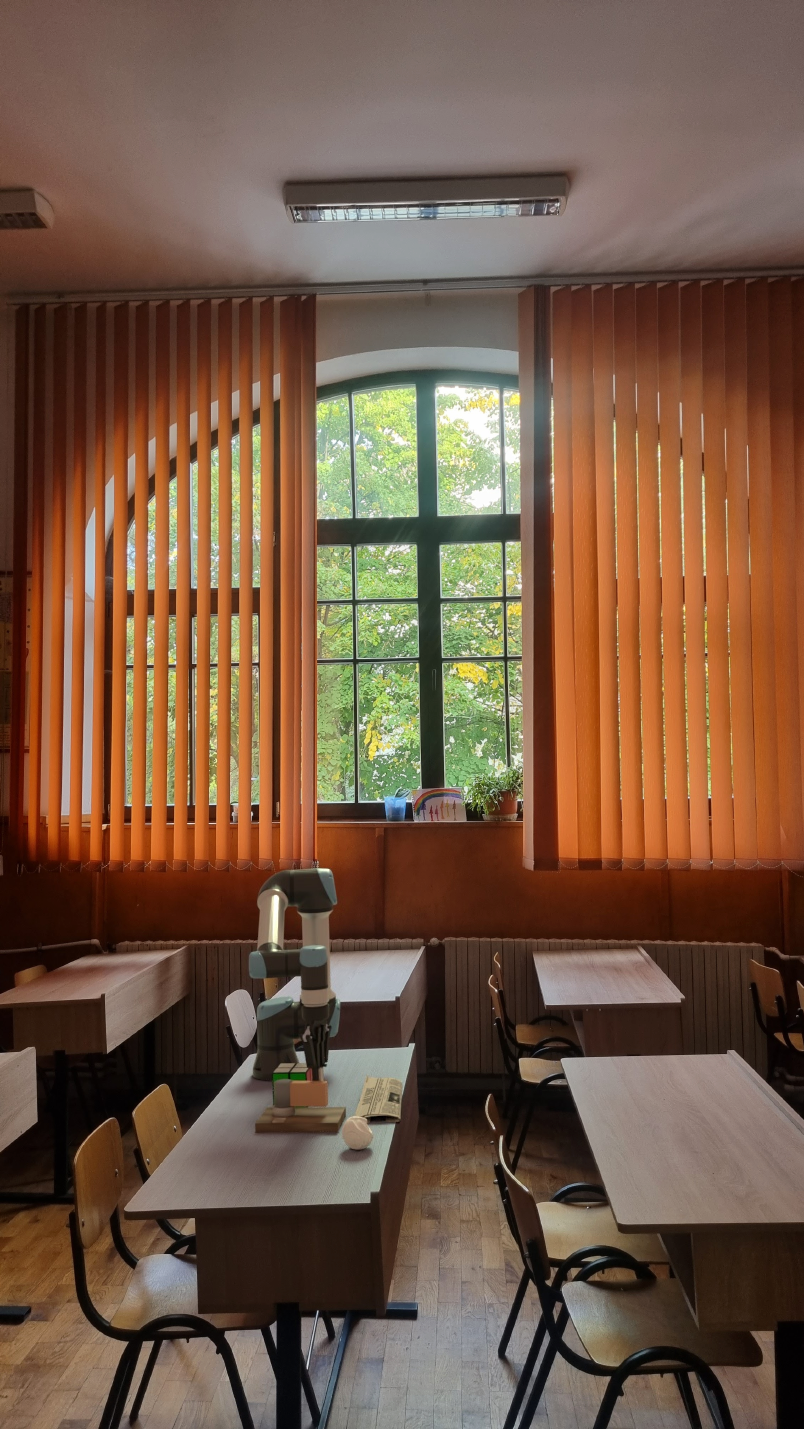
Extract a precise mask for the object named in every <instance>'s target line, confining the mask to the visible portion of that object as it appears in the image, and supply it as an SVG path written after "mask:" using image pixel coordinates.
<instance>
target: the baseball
mask: <svg viewBox="0 0 804 1429" xmlns="http://www.w3.org/2000/svg"><path fill="white" fill-rule="evenodd" d="M341 1130H342V1131H341V1133H342V1139H343V1141H344V1143H345V1145H346V1146H347V1147H348V1148H349V1149H352V1150H355V1151H357V1150H364V1149H366V1148H368V1147H369V1146H370V1145H371V1144H372V1141H373V1139H374V1134H373V1132H372V1129H371V1128H370V1126H369V1125H368V1123H367V1119H365V1118H363V1116H361V1117H357V1116H355V1115H353V1116H350V1117H348V1118H346V1120H345V1121H344V1122H343V1125H342V1129H341Z"/></svg>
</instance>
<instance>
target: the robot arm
mask: <svg viewBox="0 0 804 1429" xmlns="http://www.w3.org/2000/svg"><path fill="white" fill-rule="evenodd" d="M257 895H258V896H257V901H256V902H257V903H256V905H257V907H258V909H259V920H258V935H257V936H258V937H257V945H256V947H257V948H256V951H251V952H250V953H249V954H248V973H249V977H250V978H252V979H263V980H264V979H265V980H266V979H276V978H277V979H278V978H293V977H294V978H295V977H296V978H297V977H300V989H301V990H300V993H301V994H300V995H299V1000H298V1001H294V999H293V996H281V997H274V998H271V999H267V1000H264V1001H262V1002H260V1003H259V1005H258V1006H257V1008H256V1018H255V1019H256V1021H257V1022H256V1023H257V1024H256V1028H257V1032H256V1033H257V1034H256V1035H257V1052H256V1056H255V1060H254V1063H253V1066H252V1077H253V1078H254V1079H257V1080H260V1081H272V1073H273V1072H274V1071H275V1070H276V1069H277V1067H278V1066H279V1065H280V1064H284V1063H296V1064H297V1063H300V1061H299V1058H298V1055H297V1052H296V1049H295V1040H301V1043H302V1048H303V1051H304V1052H303V1053H304V1059H305V1063H306V1065H307V1068H311V1069H312V1080H313V1081H325V1080H324V1068H327V1067H328V1064H327V1063H328V1062H329V1052H330V1051H329V1050H330V1041H331V1040H330V1039H331V1038H332V1037H333V1038H334V1037H335V1036H336V1035H337V1034H338V1032H339V1026H340V1025H339V1024H340V1015H341V1014H340V1013H341V999H338V998H337V997H336V992H335V991H333V990H332V988H331V987H332V983H331V980H332V979H331V958H330V957H331V954H330V921H329V919H330V914H332V912H333V911H334V906H336V905H337V904H338V898H337V892H336V886H335V879H334V874H333V872H332V870H331V869H329V868H319V867H317V868H316V867H315V868H302V869H301V868H300V869H285V870H284V869H283V870H281V871H278V872H276V873H274V874H273V875H271V876H270V877H269V878H268V879H267V880H266V881H265V882H264V883H263V884H262V886H261V887H260V889H259V892H258V894H257ZM288 907H296V912H297V913H298V915H300V916H301V920H302V921H301V926H302V927H301V930H302V931H301V932H302V947H301V948H300V949H299V948H298V949H297V948H296V949H295V948H294V949H284V943H285V942H284V940H285V938H284V937H285V935H284V934H285V911H286V909H287V908H288Z"/></svg>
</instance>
